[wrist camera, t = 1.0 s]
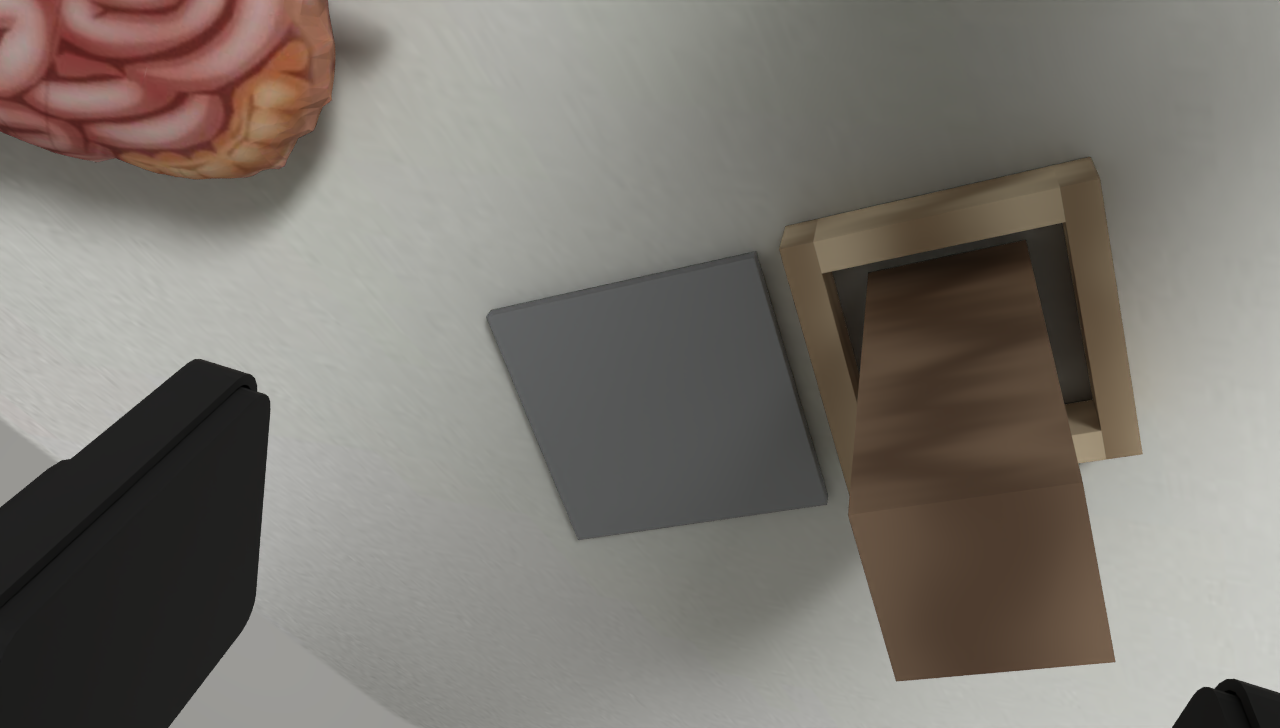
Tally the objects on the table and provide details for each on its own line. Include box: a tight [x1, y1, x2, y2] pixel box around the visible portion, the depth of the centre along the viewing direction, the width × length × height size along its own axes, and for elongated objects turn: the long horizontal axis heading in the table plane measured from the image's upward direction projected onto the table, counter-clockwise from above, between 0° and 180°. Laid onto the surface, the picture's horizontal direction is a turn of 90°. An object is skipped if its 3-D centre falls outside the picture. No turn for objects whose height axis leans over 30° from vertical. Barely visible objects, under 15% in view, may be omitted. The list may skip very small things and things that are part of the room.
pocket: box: [779, 157, 1143, 496], centre depth 40 cm, size 10×10×2 cm
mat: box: [486, 252, 828, 540], centre depth 45 cm, size 11×11×1 cm
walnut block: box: [848, 240, 1115, 681], centre depth 34 cm, size 6×6×15 cm
